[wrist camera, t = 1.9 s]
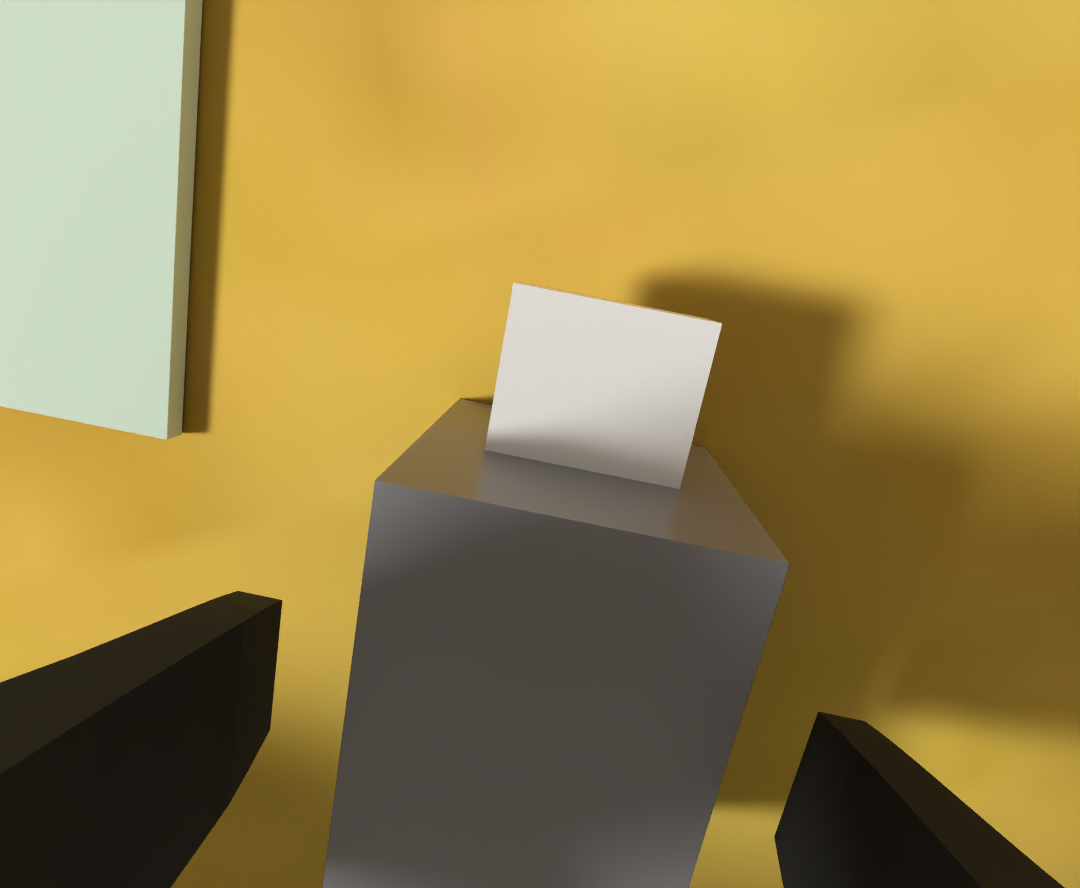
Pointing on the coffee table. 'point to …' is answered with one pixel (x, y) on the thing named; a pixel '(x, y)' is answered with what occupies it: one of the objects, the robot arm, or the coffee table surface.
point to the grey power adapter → (553, 620)
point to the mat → (97, 208)
